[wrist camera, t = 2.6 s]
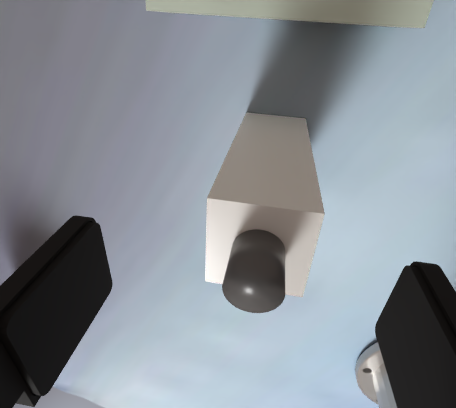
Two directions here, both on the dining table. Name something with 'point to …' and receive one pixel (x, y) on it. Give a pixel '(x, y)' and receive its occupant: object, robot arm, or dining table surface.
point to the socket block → (308, 10)
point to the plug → (264, 214)
